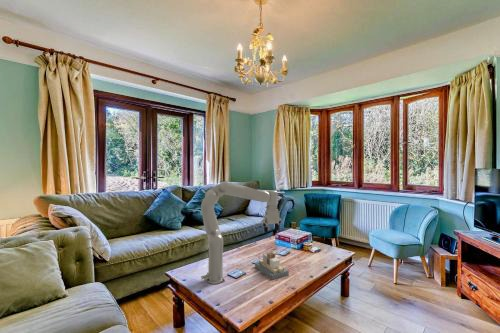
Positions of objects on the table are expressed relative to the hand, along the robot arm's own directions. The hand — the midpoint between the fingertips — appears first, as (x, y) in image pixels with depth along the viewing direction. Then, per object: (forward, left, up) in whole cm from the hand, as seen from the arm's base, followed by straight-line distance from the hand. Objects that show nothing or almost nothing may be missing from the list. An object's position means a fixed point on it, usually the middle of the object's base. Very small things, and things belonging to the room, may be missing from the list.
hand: (271, 231), depth 166 cm
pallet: (0, 0, -26) cm, 26 cm away
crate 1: (0, +5, -24) cm, 24 cm away
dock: (0, 0, -30) cm, 30 cm away
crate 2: (0, -4, -24) cm, 24 cm away
